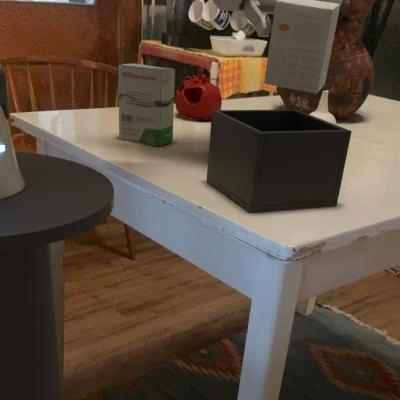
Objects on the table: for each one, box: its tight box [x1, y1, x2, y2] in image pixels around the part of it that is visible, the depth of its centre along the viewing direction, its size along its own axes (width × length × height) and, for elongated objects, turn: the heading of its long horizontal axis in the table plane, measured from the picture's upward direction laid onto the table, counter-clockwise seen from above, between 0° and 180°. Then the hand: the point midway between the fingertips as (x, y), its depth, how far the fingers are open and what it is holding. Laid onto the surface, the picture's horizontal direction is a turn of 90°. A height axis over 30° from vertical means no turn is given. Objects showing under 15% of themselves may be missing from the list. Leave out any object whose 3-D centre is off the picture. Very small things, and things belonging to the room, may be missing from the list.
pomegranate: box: [174, 68, 223, 121], centre depth 124 cm, size 10×10×9 cm
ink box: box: [117, 63, 176, 147], centre depth 104 cm, size 9×5×12 cm, turn 62°
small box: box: [263, 0, 340, 93], centre depth 85 cm, size 8×6×10 cm
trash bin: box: [205, 109, 353, 214], centre depth 83 cm, size 14×14×10 cm
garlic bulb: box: [309, 90, 337, 125], centre depth 121 cm, size 6×6×8 cm
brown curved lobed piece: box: [277, 0, 377, 120], centre depth 134 cm, size 22×21×25 cm
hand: (290, 35), depth 85 cm, fingers closed on small box, 6 cm apart
